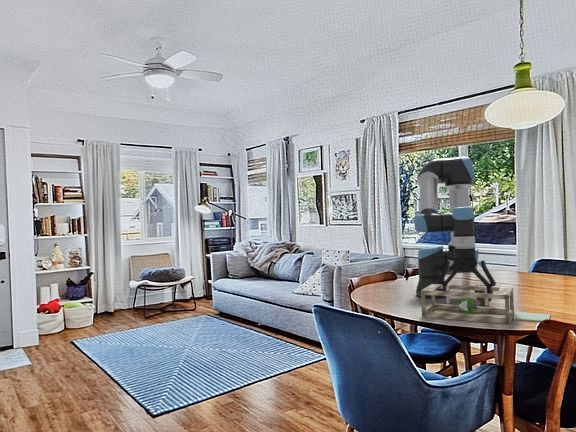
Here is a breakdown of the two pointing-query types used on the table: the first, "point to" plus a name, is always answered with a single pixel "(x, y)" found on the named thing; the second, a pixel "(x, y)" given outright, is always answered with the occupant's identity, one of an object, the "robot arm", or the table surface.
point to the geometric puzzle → (467, 306)
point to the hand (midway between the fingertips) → (467, 303)
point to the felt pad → (530, 316)
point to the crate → (501, 294)
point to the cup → (482, 300)
